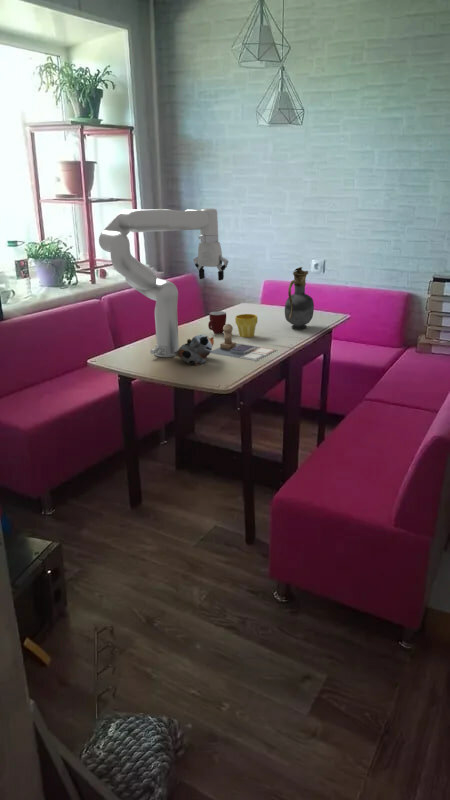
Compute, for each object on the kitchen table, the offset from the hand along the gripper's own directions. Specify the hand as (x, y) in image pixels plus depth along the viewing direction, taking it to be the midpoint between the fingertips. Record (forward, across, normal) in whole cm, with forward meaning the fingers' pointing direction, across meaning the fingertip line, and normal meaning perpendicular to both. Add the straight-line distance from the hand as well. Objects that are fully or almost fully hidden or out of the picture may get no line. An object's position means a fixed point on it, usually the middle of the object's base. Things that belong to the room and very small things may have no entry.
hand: (211, 279), depth 259 cm
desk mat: (+29, +18, -6) cm, 35 cm away
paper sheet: (+30, +26, -6) cm, 40 cm away
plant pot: (+30, +7, +18) cm, 35 cm away
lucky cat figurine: (+29, +6, -25) cm, 39 cm away
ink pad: (+29, +18, -6) cm, 35 cm away
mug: (+30, -8, +16) cm, 35 cm away
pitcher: (+30, +23, +41) cm, 56 cm away
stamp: (+29, +10, -5) cm, 31 cm away
